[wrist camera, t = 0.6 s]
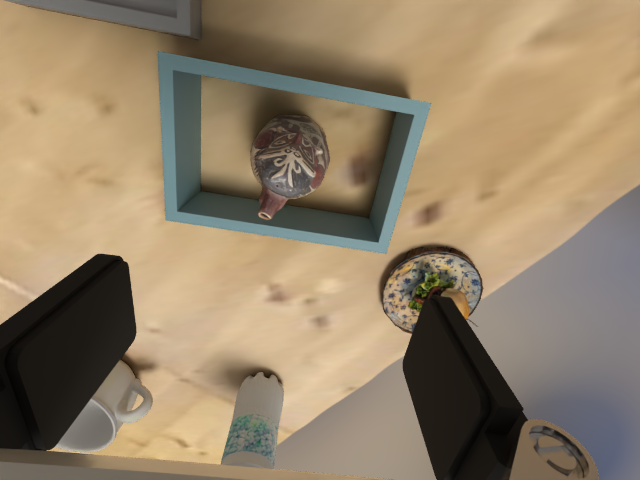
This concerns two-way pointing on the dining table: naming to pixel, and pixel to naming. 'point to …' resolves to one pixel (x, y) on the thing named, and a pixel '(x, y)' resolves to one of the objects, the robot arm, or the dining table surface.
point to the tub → (242, 213)
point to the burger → (430, 284)
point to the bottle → (255, 423)
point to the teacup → (107, 412)
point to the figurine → (288, 161)
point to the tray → (132, 13)
